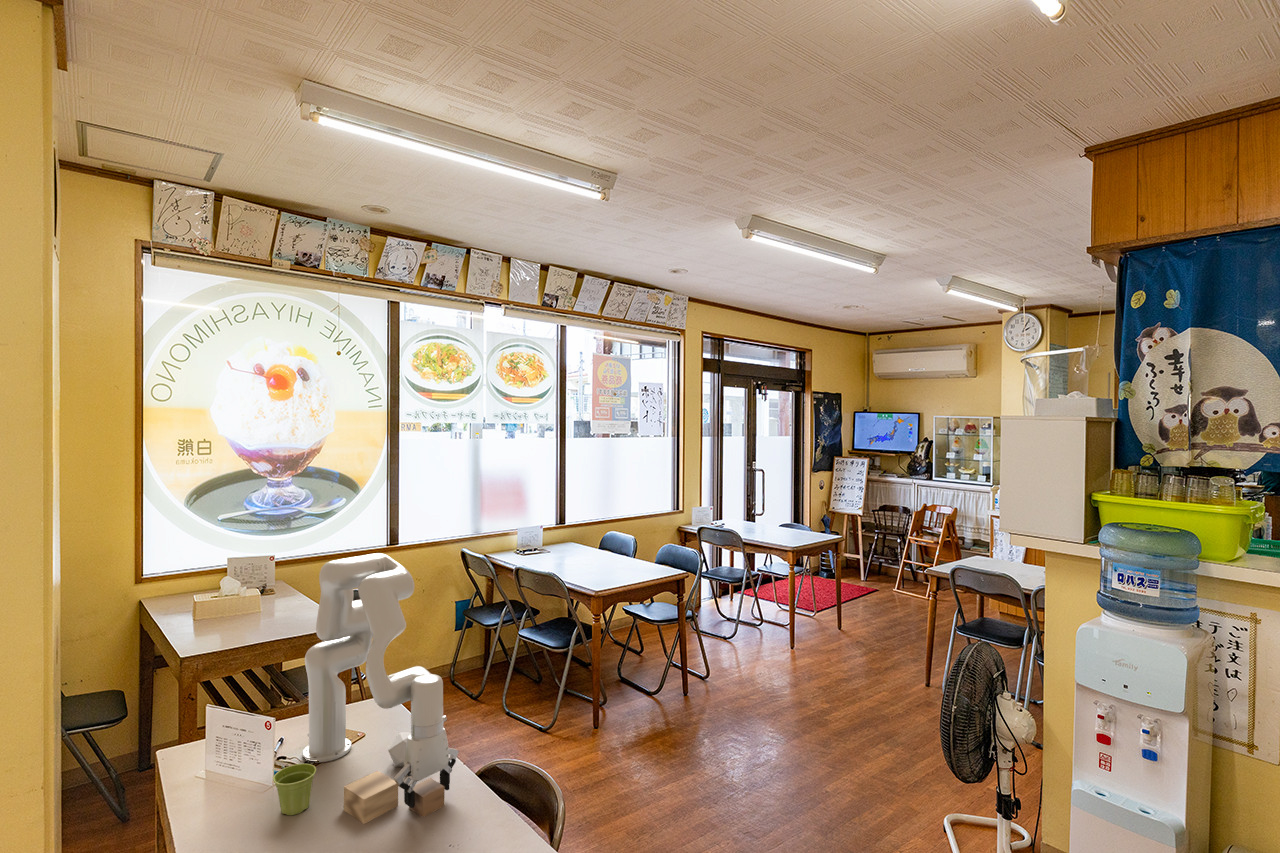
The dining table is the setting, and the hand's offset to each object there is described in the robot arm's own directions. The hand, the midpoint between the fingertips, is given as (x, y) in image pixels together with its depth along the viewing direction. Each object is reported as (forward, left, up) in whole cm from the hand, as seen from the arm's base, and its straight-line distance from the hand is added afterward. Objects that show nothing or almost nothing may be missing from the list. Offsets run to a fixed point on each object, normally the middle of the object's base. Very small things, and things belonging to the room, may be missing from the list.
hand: (427, 796), depth 162 cm
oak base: (-10, -9, -3) cm, 14 cm away
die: (-22, +8, -3) cm, 24 cm away
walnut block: (0, 0, -3) cm, 3 cm away
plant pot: (-24, -21, -3) cm, 32 cm away
